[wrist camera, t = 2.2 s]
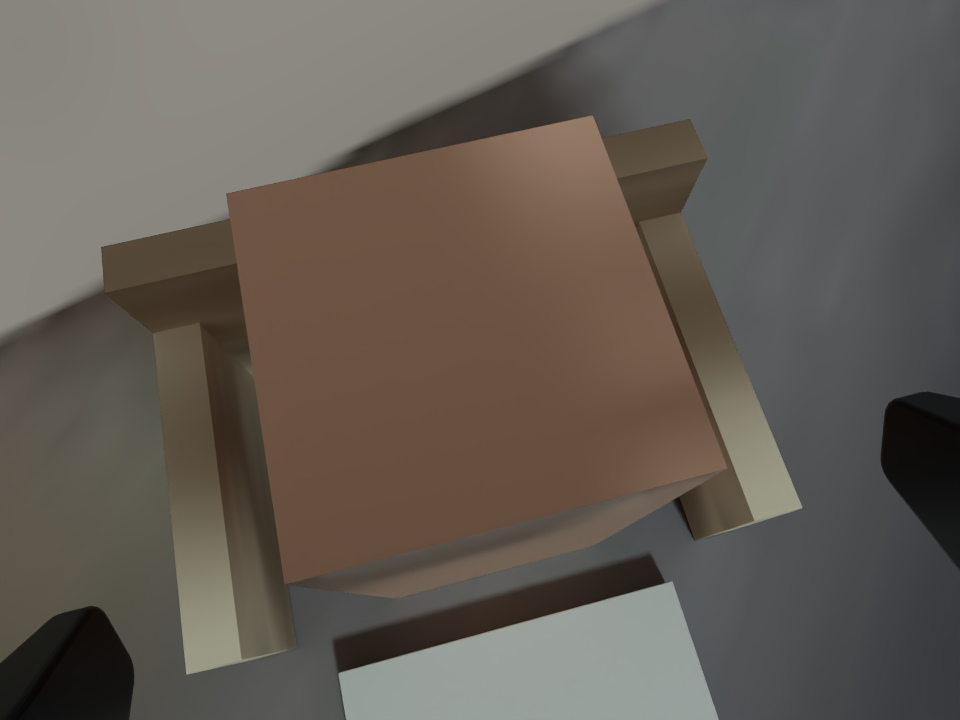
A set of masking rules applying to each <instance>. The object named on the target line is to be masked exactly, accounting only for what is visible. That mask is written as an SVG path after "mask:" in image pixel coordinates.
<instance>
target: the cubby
mask: <svg viewBox="0 0 960 720" xmlns="http://www.w3.org/2000/svg"><path fill="white" fill-rule="evenodd" d="M602 141H603V144H604V146H605V149H606V151H607V154H608V157H609V159H610V162H611V164H612V167H613V170H614V172H615V175H616V177H617V180H618V183H619V185H620V188H621V191H622V193H623V196H624V198H625V201H626V204H627V206H628V209H629V211H630V214H631V217H632V219H633V222H634V225H635V227H636V230H637V232H638V235H639V238H640V240H641V243H642V245H643V248H644V251H645V253H646V256H647V259H648V261H649V264H650V266H651V269H652V272H653V274H654V277H655V279H656V282H657V285H658V287H659V290H660V292H661V295H662V298H663V300H664V303H665V306H666V308H667V311H668V313H669V316H670V319H671V321H672V324H673V326H674V329H675V332H676V334H677V337H678V340H679V342H680V345H681V347H682V350H683V353H684V355H685V358H686V360H687V363H688V366H689V368H690V371H691V374H692V376H693V379H694V381H695V384H696V387H697V389H698V392H699V394H700V397H701V400H702V402H703V405H704V407H705V410H706V413H707V415H708V418H709V421H710V423H711V426H712V428H713V431H714V434H715V436H716V439H717V441H718V444H719V447H720V449H721V452H722V455H723V457H724V460H725V462H726V465H727V469H726V470H724V471H722V472H721V473H719V474H717V475H715V476H714V477H712V478H710V479H708V480H707V481H705V482H703V483H701V484H700V485H698V486H696V487H694V488H693V489H691V490H689V491H688V492H686V493H684V494H682V495H681V496H679V497H680V500H681V503H682V506H683V509H684V511H685V514H686V517H687V520H688V523H689V526H690V528H691V531H692V534H693V537H694V540H698V539H702V538H706V537H710V536H713V535H717V534H721V533H724V532H728V531H732V530H735V529H738V528H741V527H744V526H748V525H751V524H754V523H757V522H760V521H763V520H767V519H770V518H773V517H776V516H779V515H782V514H785V513H789V512H792V511H795V510H798V509H801V508H802V506H801V503H800V501H799V498H798V496H797V493H796V491H795V489H794V486H793V484H792V481H791V479H790V476H789V474H788V472H787V469H786V467H785V464H784V462H783V460H782V457H781V455H780V452H779V450H778V447H777V445H776V443H775V440H774V438H773V435H772V433H771V430H770V428H769V426H768V423H767V421H766V418H765V416H764V413H763V411H762V409H761V406H760V404H759V401H758V399H757V396H756V394H755V392H754V389H753V387H752V384H751V382H750V379H749V377H748V375H747V372H746V370H745V367H744V365H743V362H742V360H741V358H740V355H739V353H738V350H737V348H736V345H735V343H734V341H733V338H732V336H731V333H730V331H729V328H728V326H727V324H726V321H725V319H724V316H723V314H722V311H721V309H720V307H719V304H718V302H717V299H716V297H715V294H714V292H713V290H712V287H711V285H710V282H709V280H708V278H707V275H706V273H705V270H704V268H703V265H702V263H701V261H700V258H699V256H698V253H697V251H696V248H695V246H694V244H693V241H692V239H691V236H690V234H689V231H688V229H687V227H686V224H685V222H684V219H683V217H682V214H681V211H682V209H683V207H684V205H685V203H686V201H687V199H688V197H689V195H690V193H691V191H692V189H693V187H694V185H695V183H696V180H697V178H698V176H699V174H700V172H701V170H702V168H703V166H704V164H705V162H706V160H707V156H706V154H705V151H704V149H703V147H702V145H701V142H700V140H699V138H698V135H697V133H696V131H695V129H694V126H693V124H692V122H691V120H690V119H688V120H683V121H679V122H674V123H669V124H665V125H660V126H656V127H651V128H646V129H642V130H637V131H633V132H628V133H623V134H619V135H614V136H610V137H605V138H602ZM101 249H102V264H103V278H104V291H105V293H106V294H107V295H108V296H109V297H110V298H111V299H113V300H114V301H115V302H116V303H117V304H119V305H120V306H121V307H122V308H123V309H125V310H126V311H127V312H128V313H129V314H131V315H132V316H133V317H134V318H135V319H137V320H138V321H139V322H140V323H141V324H143V325H144V326H145V327H146V328H147V329H149V330H150V331H151V332H152V333H153V338H154V348H155V358H156V368H157V379H158V389H159V399H160V409H161V419H162V430H163V440H164V450H165V460H166V470H167V481H168V491H169V501H170V511H171V521H172V532H173V542H174V552H175V562H176V572H177V582H178V593H179V603H180V613H181V623H182V633H183V644H184V654H185V664H186V674H191V673H195V672H200V671H205V670H209V669H214V668H218V667H223V666H227V665H232V664H237V663H241V662H246V661H250V660H255V659H259V658H262V657H266V656H270V655H273V654H277V653H281V652H284V651H288V650H292V649H296V648H297V641H296V635H295V628H294V621H293V615H292V608H291V602H290V595H289V588H288V585H285V583H284V577H283V570H282V563H281V557H280V550H279V543H278V536H277V530H276V523H275V516H274V510H273V503H272V496H271V490H270V483H269V476H268V469H267V463H266V456H265V449H264V443H263V436H262V429H261V423H260V416H259V409H258V402H257V396H256V389H255V382H254V376H253V369H252V362H251V356H250V349H249V342H248V335H247V329H246V322H245V315H244V309H243V302H242V295H241V289H240V282H239V275H238V268H237V262H236V255H235V248H234V242H233V235H232V228H231V222H230V219H228V220H224V221H219V222H214V223H210V224H205V225H201V226H196V227H192V228H187V229H182V230H178V231H173V232H169V233H164V234H159V235H155V236H150V237H146V238H141V239H137V240H132V241H127V242H123V243H118V244H114V245H109V246H104V247H101Z"/></svg>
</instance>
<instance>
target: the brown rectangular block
mask: <svg viewBox="0 0 960 720" xmlns="http://www.w3.org/2000/svg"><path fill="white" fill-rule="evenodd" d="M226 195H227V201H228V208H229V215H230V222H231V228H232V235H233V242H234V248H235V255H236V262H237V268H238V275H239V282H240V289H241V295H242V302H243V309H244V315H245V322H246V329H247V335H248V342H249V349H250V356H251V362H252V369H253V376H254V382H255V389H256V396H257V402H258V409H259V416H260V423H261V429H262V436H263V443H264V449H265V456H266V463H267V469H268V476H269V483H270V490H271V496H272V503H273V510H274V516H275V523H276V530H277V536H278V543H279V550H280V557H281V563H282V570H283V577H284V583H285V585H292V586H300V587H307V588H315V589H323V590H331V591H339V592H347V593H355V594H363V595H370V596H378V597H386V598H394V599H398V598H401V597H405V596H409V595H412V594H416V593H420V592H424V591H427V590H431V589H435V588H439V587H442V586H446V585H450V584H454V583H457V582H461V581H465V580H468V579H472V578H476V577H480V576H483V575H487V574H491V573H495V572H498V571H502V570H506V569H510V568H513V567H517V566H521V565H524V564H528V563H532V562H536V561H539V560H543V559H547V558H551V557H554V556H558V555H562V554H566V553H569V552H573V551H577V550H581V549H584V548H588V547H592V546H594V545H596V544H597V543H599V542H601V541H603V540H604V539H606V538H608V537H610V536H611V535H613V534H615V533H616V532H618V531H620V530H622V529H623V528H625V527H627V526H629V525H630V524H632V523H634V522H636V521H637V520H639V519H641V518H642V517H644V516H646V515H648V514H649V513H651V512H653V511H655V510H656V509H658V508H660V507H662V506H663V505H665V504H667V503H668V502H670V501H672V500H674V499H675V498H677V497H679V496H681V495H682V494H684V493H686V492H688V491H689V490H691V489H693V488H694V487H696V486H698V485H700V484H701V483H703V482H705V481H707V480H708V479H710V478H712V477H714V476H715V475H717V474H719V473H721V472H722V471H724V470H726V469H727V465H726V462H725V460H724V457H723V455H722V452H721V449H720V447H719V444H718V441H717V439H716V436H715V434H714V431H713V428H712V426H711V423H710V421H709V418H708V415H707V413H706V410H705V407H704V405H703V402H702V400H701V397H700V394H699V392H698V389H697V387H696V384H695V381H694V379H693V376H692V374H691V371H690V368H689V366H688V363H687V360H686V358H685V355H684V353H683V350H682V347H681V345H680V342H679V340H678V337H677V334H676V332H675V329H674V326H673V324H672V321H671V319H670V316H669V313H668V311H667V308H666V306H665V303H664V300H663V298H662V295H661V292H660V290H659V287H658V285H657V282H656V279H655V277H654V274H653V272H652V269H651V266H650V264H649V261H648V259H647V256H646V253H645V251H644V248H643V245H642V243H641V240H640V238H639V235H638V232H637V230H636V227H635V225H634V222H633V219H632V217H631V214H630V211H629V209H628V206H627V204H626V201H625V198H624V196H623V193H622V191H621V188H620V185H619V183H618V180H617V177H616V175H615V172H614V170H613V167H612V164H611V162H610V159H609V157H608V154H607V151H606V149H605V146H604V144H603V141H602V138H601V136H600V133H599V130H598V128H597V125H596V123H595V120H594V117H593V115H592V116H587V117H583V118H578V119H573V120H569V121H564V122H559V123H555V124H550V125H545V126H541V127H536V128H531V129H527V130H522V131H517V132H513V133H508V134H503V135H499V136H494V137H489V138H485V139H480V140H475V141H471V142H466V143H461V144H456V145H452V146H447V147H442V148H438V149H433V150H428V151H424V152H419V153H414V154H410V155H405V156H400V157H396V158H391V159H386V160H382V161H377V162H372V163H368V164H363V165H358V166H354V167H349V168H344V169H340V170H335V171H330V172H326V173H321V174H316V175H311V176H307V177H302V178H297V179H293V180H288V181H284V182H279V183H274V184H270V185H265V186H260V187H255V188H251V189H246V190H241V191H237V192H232V193H228V194H226Z"/></svg>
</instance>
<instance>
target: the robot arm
mask: <svg viewBox="0 0 960 720" xmlns="http://www.w3.org/2000/svg"><path fill="white" fill-rule="evenodd" d="M881 465H882V469H883V472H884V474H885V475H886V477H887V479H888V480H889V482H890V483H891V484H892V486H893V487H894V488H895V490H896V491H897V492H898V493H899V495H900V496H901V497H902V498H903V500H904V501H905V502H906V504H907V505H908V506H909V507H910V509H911V510H912V511H913V512H914V514H915V515H916V516H917V517H918V519H919V520H920V521H921V523H922V524H923V525H924V526H925V528H926V529H927V530H928V531H929V533H930V534H931V535H932V537H933V538H934V539H935V540H936V542H937V543H938V544H939V545H940V547H941V548H942V549H943V551H944V552H945V553H946V554H947V556H948V557H949V558H950V559H951V561H952V562H953V563H954V564H955V566H956V567H957V568H958V570H959V571H960V398H956V397H951V396H946V395H942V394H937V393H932V392H920V393H915V394H912V395H908V396H904V397H900V398H896V399H894V400H892V401H891V402H889V404H888V405H887V407H886V409H885V415H884V425H883V436H882V446H881ZM133 686H134V668H133V663H132V660H131V657H130V655H129V653H128V652H127V650H126V648H125V646H124V645H123V643H122V641H121V640H120V638H119V636H118V634H117V633H116V631H115V629H114V627H113V626H112V624H111V622H110V620H109V619H108V617H107V615H106V614H105V613H104V611H103V610H101V609H100V608H98V607H95V606H88V607H84V608H80V609H76V610H72V611H69V612H65V613H61V614H58V615H56V616H54V617H52V618H51V619H50V620H48V621H47V622H46V623H45V624H44V625H43V626H42V627H41V628H39V629H38V630H37V631H36V632H35V633H34V634H33V635H32V636H30V637H29V638H28V639H27V640H26V641H25V642H24V643H23V644H22V645H20V646H19V647H18V648H17V649H16V650H15V651H14V652H13V653H11V654H10V655H9V656H8V657H7V658H6V659H5V660H4V661H2V662H1V663H0V720H129V717H130V709H131V702H132V694H133Z"/></svg>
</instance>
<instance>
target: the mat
mask: <svg viewBox="0 0 960 720" xmlns="http://www.w3.org/2000/svg"><path fill="white" fill-rule="evenodd" d="M338 674H339V680H340V686H341V692H342V698H343V704H344V710H345V716H346V720H719V719H718V716H717V713H716V710H715V707H714V704H713V701H712V698H711V695H710V692H709V689H708V686H707V683H706V681H705V678H704V675H703V672H702V669H701V666H700V663H699V660H698V657H697V654H696V651H695V648H694V645H693V642H692V639H691V636H690V633H689V630H688V627H687V624H686V621H685V618H684V615H683V612H682V609H681V606H680V603H679V600H678V597H677V594H676V591H675V588H674V585H673V582H666V583H662V584H659V585H655V586H651V587H648V588H644V589H640V590H637V591H633V592H629V593H626V594H622V595H619V596H615V597H611V598H608V599H604V600H600V601H597V602H593V603H589V604H586V605H582V606H579V607H575V608H571V609H568V610H564V611H560V612H557V613H553V614H549V615H546V616H542V617H539V618H535V619H531V620H528V621H524V622H520V623H517V624H513V625H509V626H506V627H502V628H498V629H495V630H491V631H488V632H484V633H480V634H477V635H473V636H469V637H466V638H462V639H458V640H455V641H451V642H448V643H444V644H440V645H437V646H433V647H429V648H426V649H422V650H418V651H415V652H411V653H408V654H404V655H400V656H397V657H393V658H389V659H386V660H382V661H378V662H375V663H371V664H367V665H364V666H360V667H357V668H353V669H349V670H346V671H343V672H340V673H338Z"/></svg>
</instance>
